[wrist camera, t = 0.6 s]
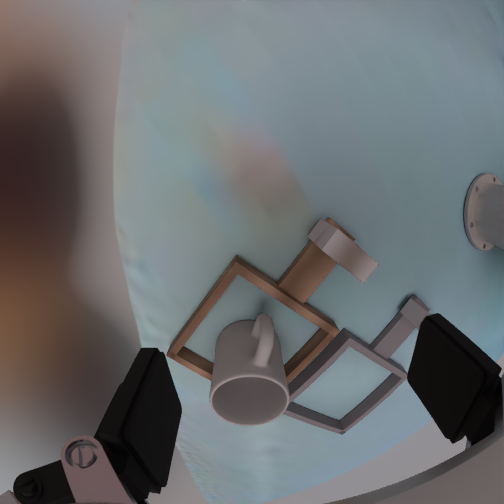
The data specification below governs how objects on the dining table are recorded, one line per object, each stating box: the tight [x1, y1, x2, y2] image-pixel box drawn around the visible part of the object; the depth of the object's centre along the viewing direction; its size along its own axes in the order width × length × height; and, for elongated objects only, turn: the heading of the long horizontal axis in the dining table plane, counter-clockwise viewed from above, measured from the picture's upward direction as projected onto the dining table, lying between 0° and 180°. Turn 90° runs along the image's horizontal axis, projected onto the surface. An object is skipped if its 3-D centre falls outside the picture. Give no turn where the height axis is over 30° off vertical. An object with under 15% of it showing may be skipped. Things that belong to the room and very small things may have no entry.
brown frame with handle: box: [166, 217, 379, 384], centre depth 31 cm, size 16×26×7 cm, turn 144°
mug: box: [210, 313, 290, 426], centre depth 30 cm, size 12×8×11 cm
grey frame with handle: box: [283, 294, 431, 434], centre depth 34 cm, size 16×26×7 cm, turn 144°
